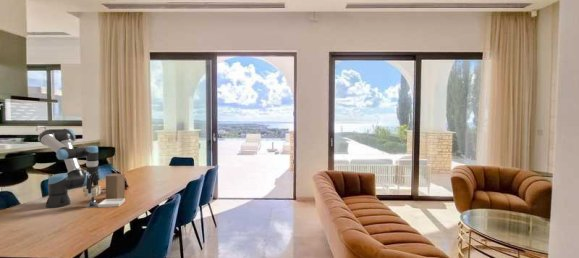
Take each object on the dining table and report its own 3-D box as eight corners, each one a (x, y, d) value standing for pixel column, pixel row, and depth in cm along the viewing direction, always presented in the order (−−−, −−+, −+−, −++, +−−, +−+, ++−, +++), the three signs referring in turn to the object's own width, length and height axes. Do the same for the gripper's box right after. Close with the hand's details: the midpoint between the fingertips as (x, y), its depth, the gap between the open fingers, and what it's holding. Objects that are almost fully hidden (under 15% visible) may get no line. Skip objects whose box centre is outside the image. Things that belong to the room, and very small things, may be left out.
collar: (96, 196, 231) (96, 188, 230) (81, 196, 229) (81, 188, 228) (100, 193, 238) (100, 185, 238) (86, 193, 236) (86, 186, 236)
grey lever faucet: (83, 207, 229) (83, 189, 228) (88, 204, 237) (88, 186, 237) (96, 207, 230) (96, 189, 230) (101, 203, 239) (101, 186, 239)
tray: (97, 207, 230) (97, 204, 230) (105, 201, 245) (105, 199, 244) (119, 206, 233) (119, 203, 233) (125, 201, 248) (125, 198, 248)
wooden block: (124, 197, 259) (124, 173, 258) (117, 200, 249) (116, 176, 249) (113, 196, 260) (113, 173, 259) (105, 199, 250) (105, 175, 249)
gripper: (92, 168, 223) (92, 199, 224) (103, 163, 243) (103, 192, 245) (80, 168, 222) (80, 199, 223) (92, 163, 242) (92, 192, 243)
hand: (92, 195), depth 234 cm, fingers closed on collar, 8 cm apart
